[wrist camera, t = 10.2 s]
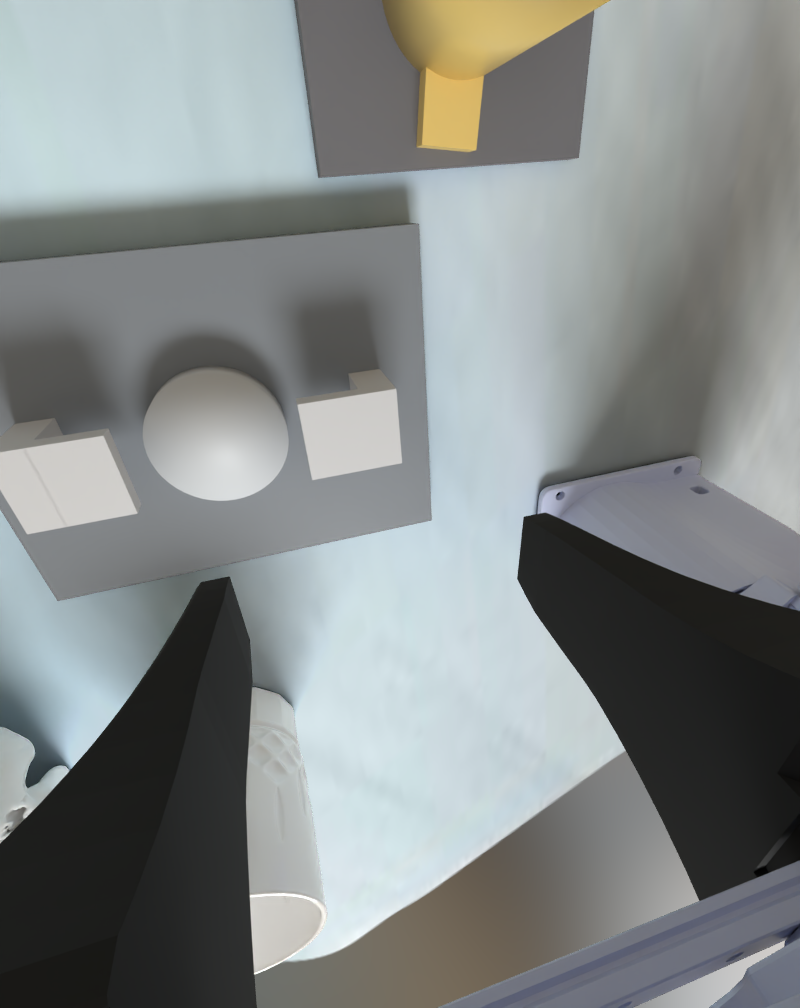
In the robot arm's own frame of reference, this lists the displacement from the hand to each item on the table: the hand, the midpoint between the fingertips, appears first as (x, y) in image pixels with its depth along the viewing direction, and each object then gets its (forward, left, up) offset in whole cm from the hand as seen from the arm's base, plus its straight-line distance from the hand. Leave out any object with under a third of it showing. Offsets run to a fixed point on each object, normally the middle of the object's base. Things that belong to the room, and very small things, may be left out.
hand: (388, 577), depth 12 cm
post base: (+4, -1, -10) cm, 11 cm away
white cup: (+8, +17, -10) cm, 21 cm away
